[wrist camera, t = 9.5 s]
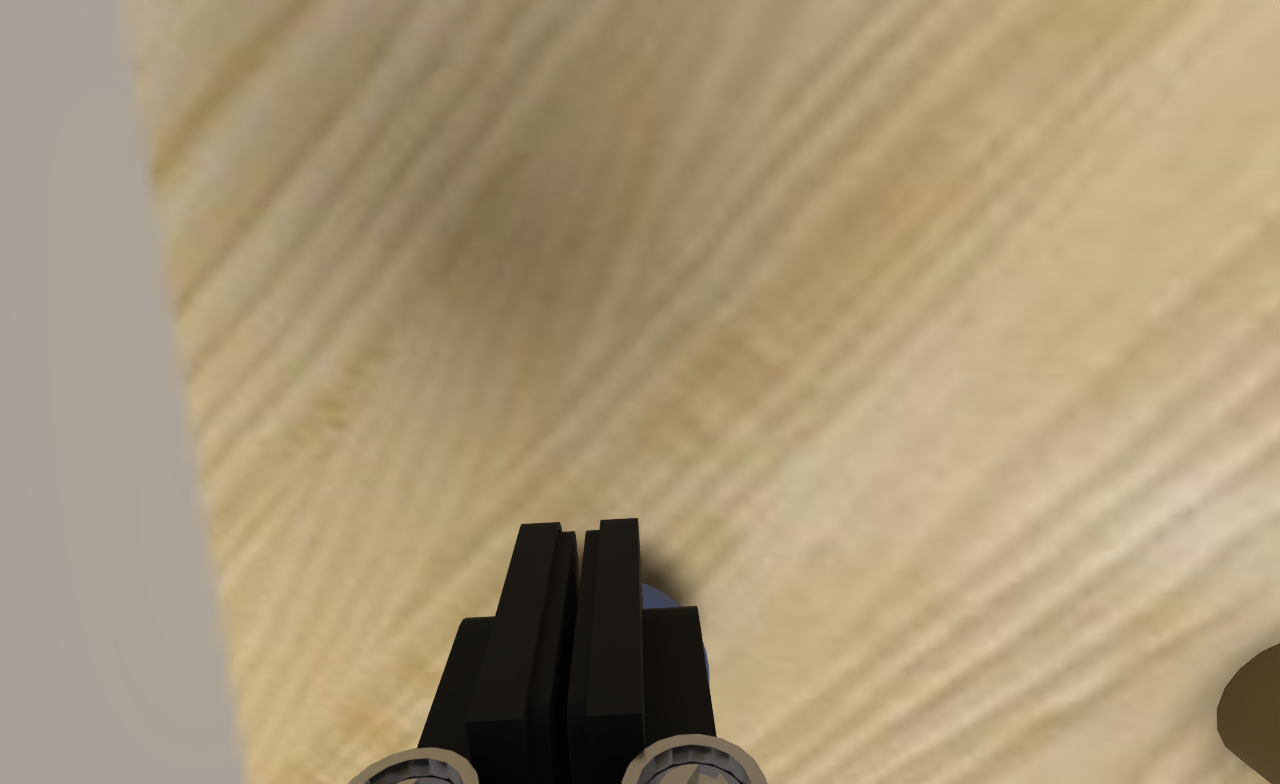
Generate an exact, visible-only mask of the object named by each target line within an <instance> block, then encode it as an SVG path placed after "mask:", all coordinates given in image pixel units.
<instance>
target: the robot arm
mask: <svg viewBox="0 0 1280 784" xmlns="http://www.w3.org/2000/svg"><path fill="white" fill-rule="evenodd" d="M349 784H768V783H767V781H766V778H765V776H764V774H763V772H762V771H761V769H760V768H759V766H758V764H757V763H756V761H755V760H754V759H753V758H752V757H751V756H750V755H749V754H747V753H746V752H745V751H744V750H743V749H741V748H740V747H739V746H737V745H735V744H733V743H730V742H728V741H726V740H724V739H722V738H718V737H717V736H716V730H715V723H714V716H713V709H712V702H711V695H710V689H709V682H708V675H707V668H706V661H705V654H704V648H703V641H702V634H701V627H700V620H699V614H698V608H697V606H687V607H668V608H648V609H643V595H642V577H641V560H640V542H639V525H638V518H630V519H611V520H601V521H600V530H590V531H586V535H585V544H584V553H583V563H582V572H581V581H580V577H579V565H578V554H577V542H576V534H575V531H571V532H562V528H561V524H560V522H553V523H533V524H521V526H520V529H519V533H518V537H517V540H516V544H515V547H514V551H513V554H512V558H511V562H510V565H509V569H508V572H507V576H506V579H505V583H504V587H503V590H502V594H501V597H500V601H499V604H498V608H497V612H496V615H495V616H493V617H474V618H465V619H463V620H462V622H461V624H460V626H459V629H458V632H457V634H456V637H455V640H454V643H453V646H452V649H451V652H450V655H449V657H448V660H447V663H446V666H445V669H444V672H443V675H442V678H441V680H440V683H439V686H438V689H437V692H436V695H435V698H434V701H433V703H432V706H431V709H430V712H429V715H428V718H427V721H426V724H425V726H424V729H423V732H422V735H421V738H420V741H419V744H418V747H417V748H415V749H410V750H406V751H403V752H399V753H395V754H392V755H389V756H387V757H386V758H384V759H382V760H380V761H378V762H376V763H374V764H372V765H370V766H369V767H367V768H366V769H365V770H363V771H362V772H361V773H360V774H358V775H357V776H356V777H354V778H353V779H352V780H351V781H350V782H349Z"/></svg>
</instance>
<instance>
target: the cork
mask: <svg viewBox="0 0 1280 784" xmlns="http://www.w3.org/2000/svg"><path fill="white" fill-rule="evenodd" d="M1217 722H1218V731H1219V733H1220V736H1221V738H1222V740H1223V742H1224V744H1225V746H1226V747H1227V748H1228V749H1229V750H1230V751H1232V752H1233V753H1234V754H1235V755H1236V756H1237V757H1239V758H1240V759H1241V760H1242V761H1244V762H1245V763H1246V764H1247V765H1249V766H1250V767H1251V768H1252V769H1254V770H1255V771H1256V772H1257V773H1259V774H1260V775H1261V776H1262V777H1264V778H1265V779H1266V780H1267V781H1269V782H1270V783H1271V784H1280V644H1278V645H1276V646H1274V647H1272V648H1270V649H1268V650H1266V651H1263V652H1261V653H1260V654H1259V655H1258V656H1256V657H1255V658H1254V659H1252V660H1251V661H1250V662H1249V663H1247V664H1246V665H1245V666H1243V667H1242V668H1241V669H1240V670H1239V671H1238V673H1237V674H1236V675H1235V677H1234V678H1233V679H1232V680H1231V682H1230V683H1229V684H1228V686H1227V687H1226V688H1225V690H1224V693H1223V696H1222V698H1221V701H1220V704H1219V707H1218V709H1217Z"/></svg>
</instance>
